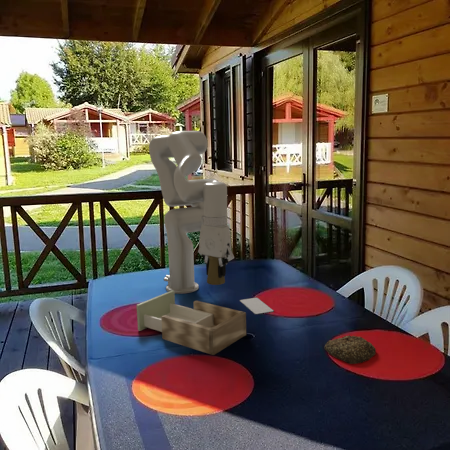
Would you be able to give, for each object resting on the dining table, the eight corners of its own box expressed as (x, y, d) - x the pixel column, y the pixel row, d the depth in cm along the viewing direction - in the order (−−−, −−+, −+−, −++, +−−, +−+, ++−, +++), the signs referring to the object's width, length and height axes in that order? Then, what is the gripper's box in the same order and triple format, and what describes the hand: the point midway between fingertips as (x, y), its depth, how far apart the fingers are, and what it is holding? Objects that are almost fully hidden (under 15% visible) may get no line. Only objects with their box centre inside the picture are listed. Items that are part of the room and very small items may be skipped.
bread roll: (349, 368, 121) (349, 350, 120) (318, 349, 132) (318, 332, 131) (385, 356, 127) (386, 339, 126) (353, 339, 137) (354, 323, 136)
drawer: (138, 330, 146) (136, 304, 144) (173, 313, 159) (172, 290, 157) (183, 344, 135) (182, 317, 134) (217, 325, 148) (216, 300, 146)
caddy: (162, 338, 140) (161, 316, 139) (197, 321, 153) (196, 300, 151) (213, 355, 129) (212, 331, 128) (246, 334, 142) (245, 312, 140)
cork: (227, 279, 158) (227, 247, 156) (221, 285, 152) (221, 252, 150) (210, 277, 160) (210, 246, 158) (204, 283, 154) (203, 251, 152)
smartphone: (255, 314, 157) (239, 300, 171) (255, 315, 157) (239, 301, 171) (274, 311, 159) (256, 297, 173) (274, 312, 159) (256, 298, 173)
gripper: (187, 219, 154) (189, 273, 158) (229, 226, 144) (230, 283, 148) (202, 215, 159) (203, 268, 164) (243, 222, 150) (243, 277, 154)
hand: (215, 274), depth 156 cm, fingers closed on cork, 4 cm apart
